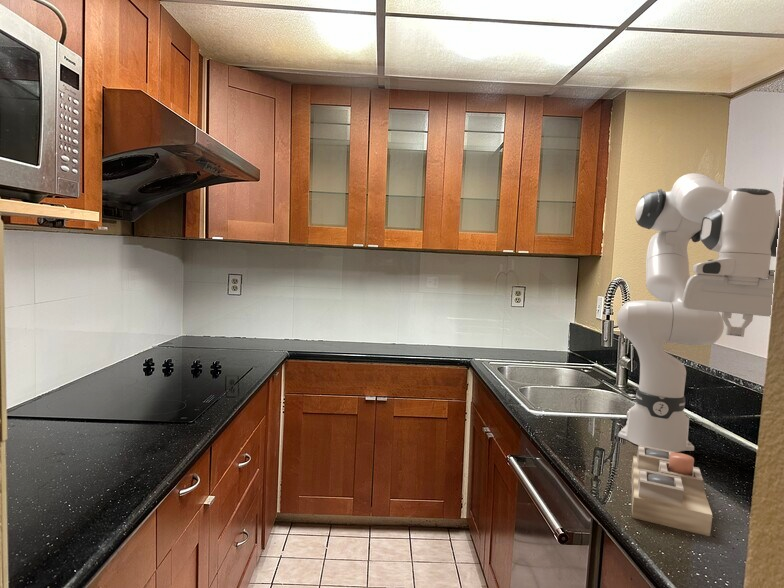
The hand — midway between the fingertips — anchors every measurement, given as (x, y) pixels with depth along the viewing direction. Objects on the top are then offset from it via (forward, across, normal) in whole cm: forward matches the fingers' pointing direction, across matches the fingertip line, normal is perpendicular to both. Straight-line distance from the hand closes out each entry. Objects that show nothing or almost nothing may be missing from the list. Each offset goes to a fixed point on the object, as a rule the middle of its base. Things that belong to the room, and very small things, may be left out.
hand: (734, 335), depth 110 cm
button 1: (+31, +11, -3) cm, 33 cm away
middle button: (+28, +7, +5) cm, 30 cm away
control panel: (+35, +9, +5) cm, 37 cm away
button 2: (+31, +11, +13) cm, 36 cm away
